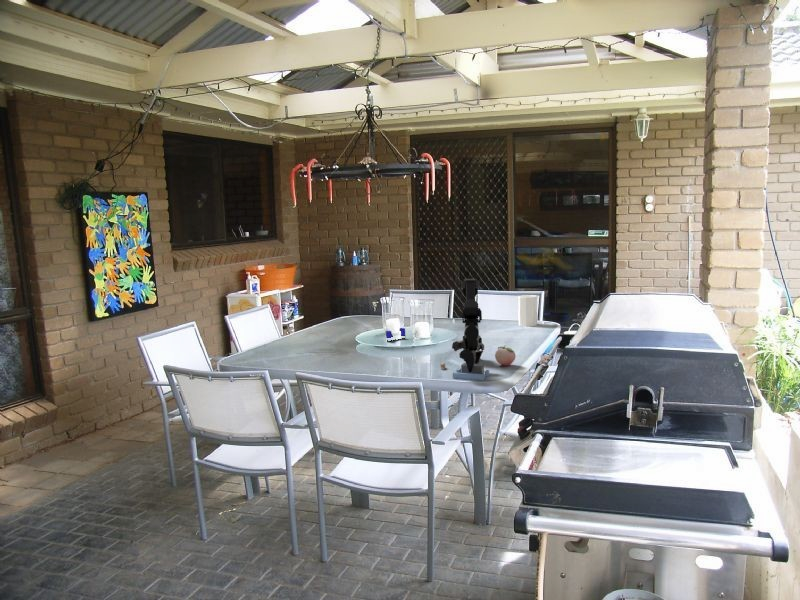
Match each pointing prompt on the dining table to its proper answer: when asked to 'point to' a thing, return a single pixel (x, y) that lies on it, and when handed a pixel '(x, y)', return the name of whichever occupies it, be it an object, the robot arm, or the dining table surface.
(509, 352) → the decorative fruit
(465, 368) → the tall grey block
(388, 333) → the cable clip
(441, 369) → the tan wooden block
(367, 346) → the dining table surface
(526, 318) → the cup
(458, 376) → the separate blue rectangular blocks
